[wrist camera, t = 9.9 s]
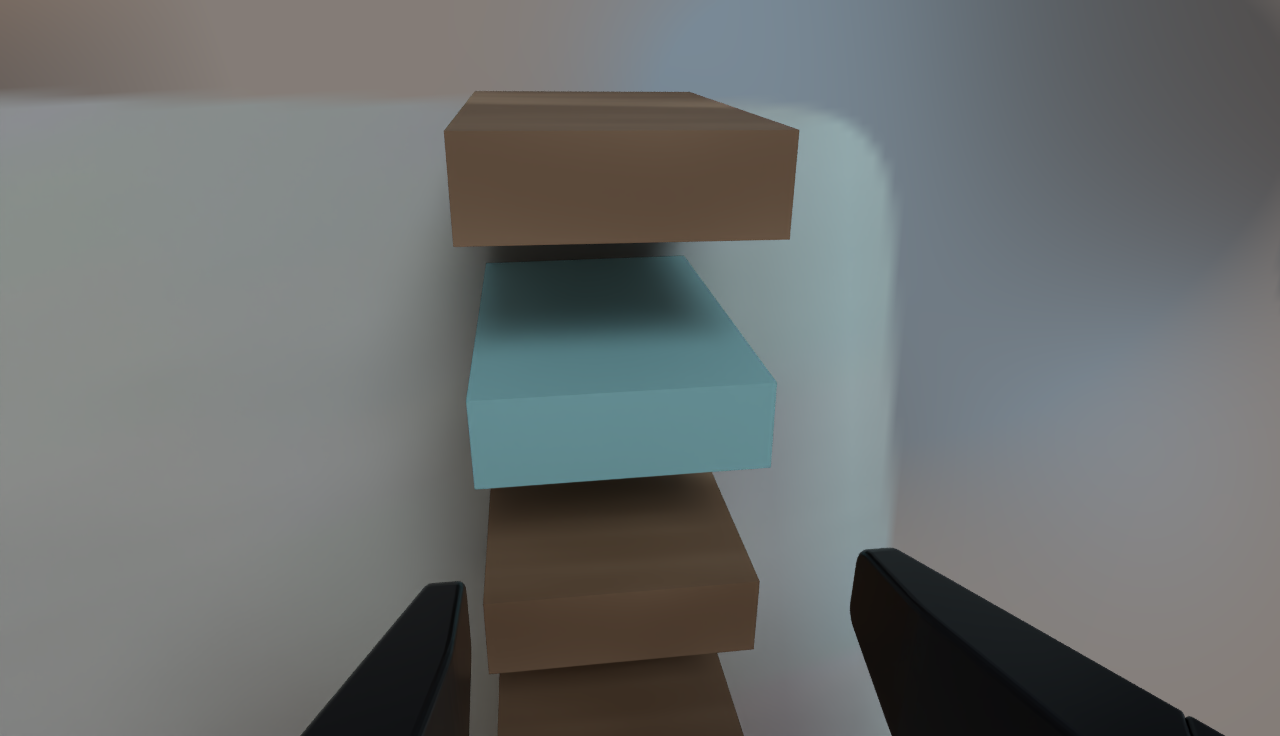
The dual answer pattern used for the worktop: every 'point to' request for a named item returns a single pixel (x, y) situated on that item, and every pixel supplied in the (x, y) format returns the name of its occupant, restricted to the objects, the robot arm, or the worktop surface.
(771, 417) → the teal domino
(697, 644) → the domino
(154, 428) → the worktop surface
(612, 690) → the domino
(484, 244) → the domino
